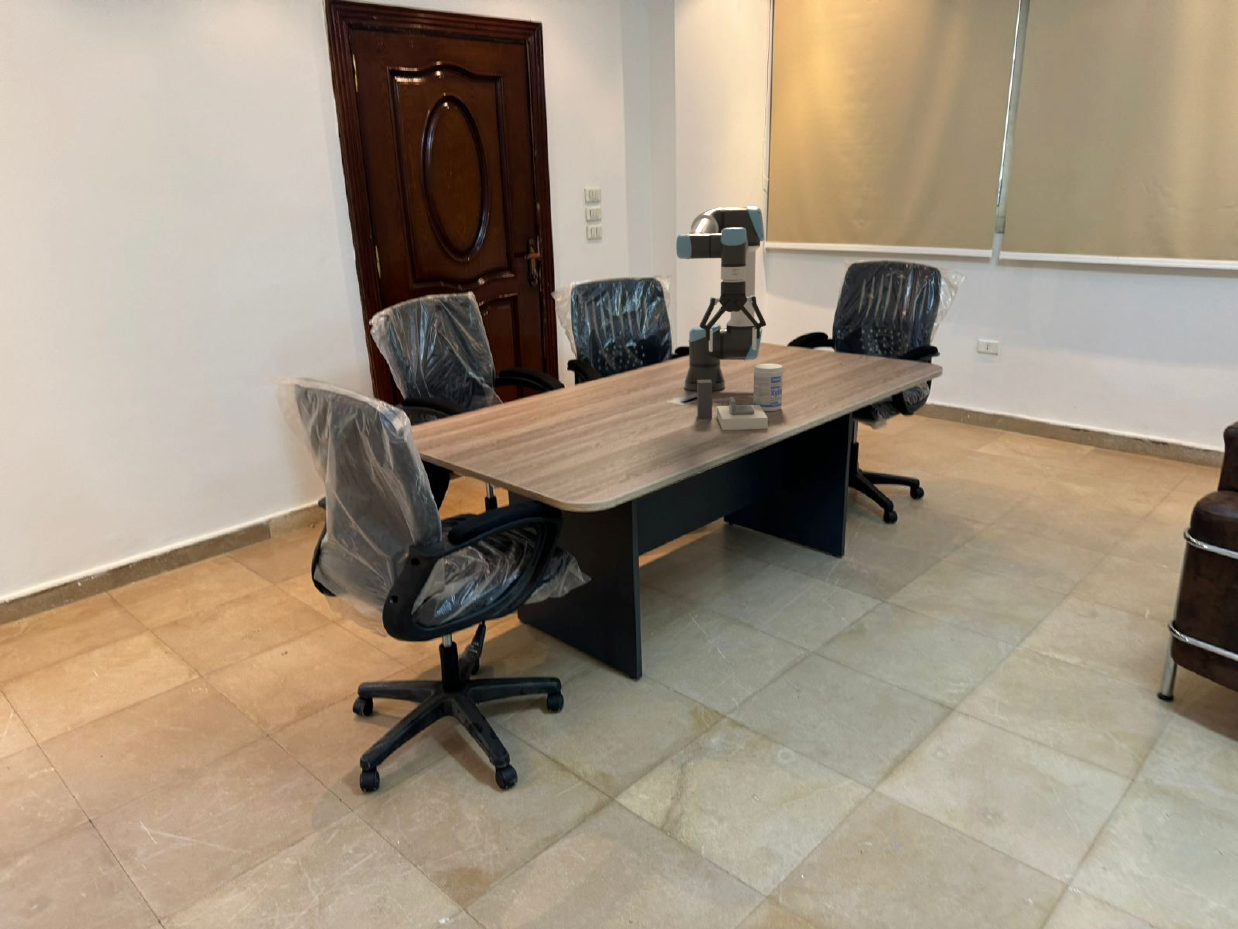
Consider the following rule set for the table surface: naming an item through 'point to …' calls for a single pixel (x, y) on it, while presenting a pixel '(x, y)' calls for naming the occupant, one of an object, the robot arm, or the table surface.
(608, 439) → the table surface
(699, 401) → the plug
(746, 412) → the plate
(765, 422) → the socket plate
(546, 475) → the table surface
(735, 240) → the robot arm
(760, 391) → the supplement tub
